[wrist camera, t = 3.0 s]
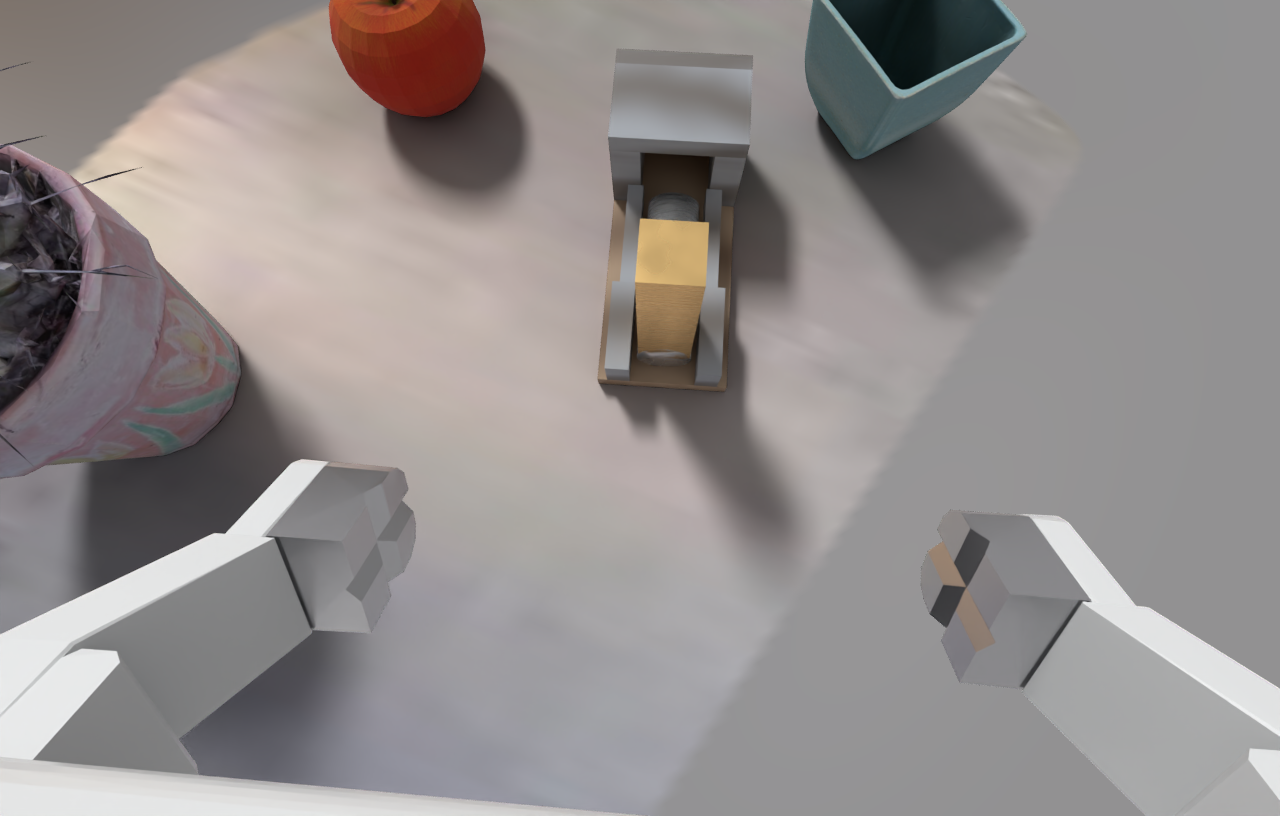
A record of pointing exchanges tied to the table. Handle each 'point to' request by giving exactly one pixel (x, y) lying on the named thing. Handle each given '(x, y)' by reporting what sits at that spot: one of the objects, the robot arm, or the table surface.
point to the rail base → (683, 163)
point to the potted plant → (95, 332)
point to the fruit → (410, 51)
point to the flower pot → (900, 63)
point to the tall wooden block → (670, 279)
